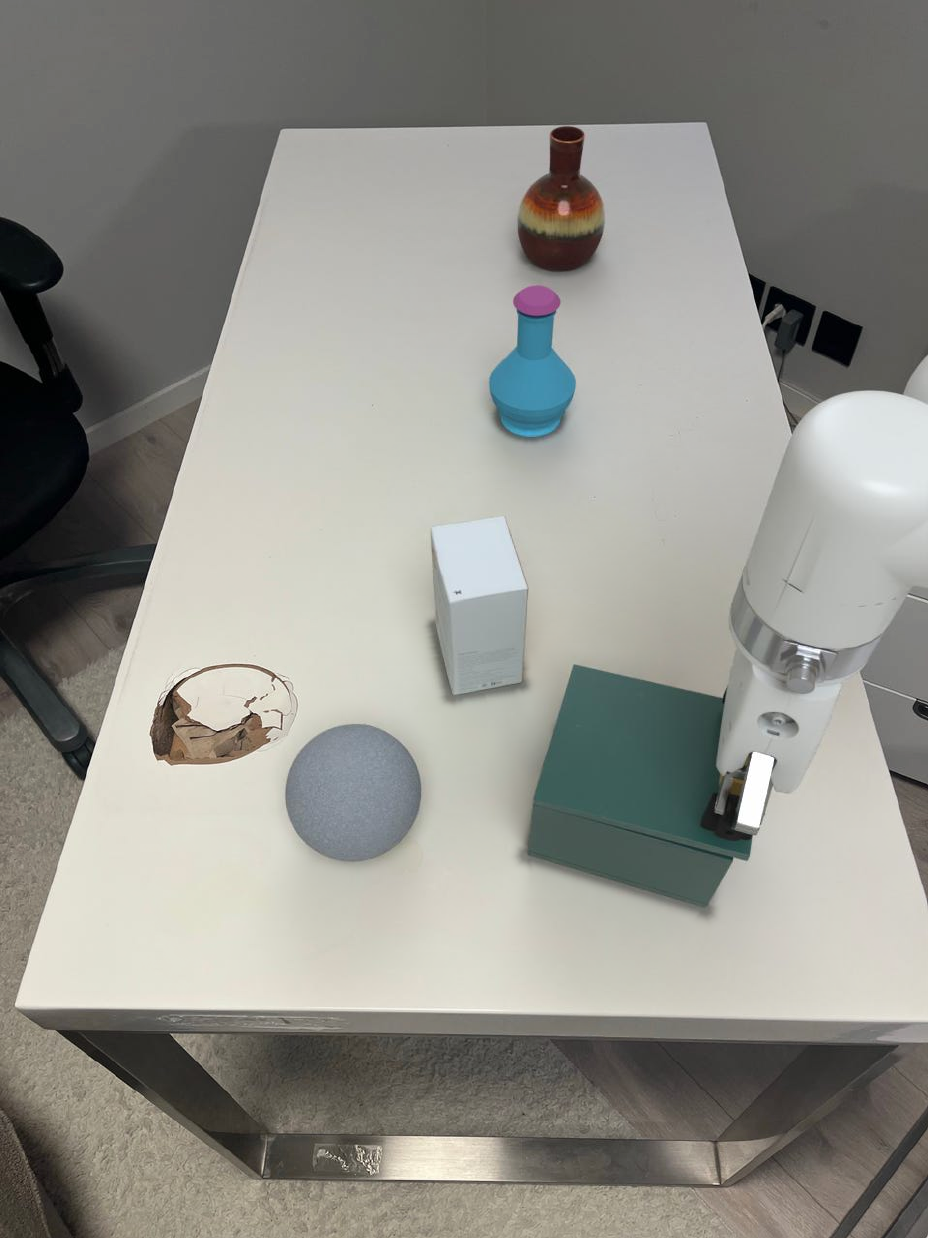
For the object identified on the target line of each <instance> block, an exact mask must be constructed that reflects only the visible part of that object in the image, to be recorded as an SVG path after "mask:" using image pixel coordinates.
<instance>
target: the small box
mask: <svg viewBox="0 0 928 1238" xmlns="http://www.w3.org/2000/svg"><path fill="white" fill-rule="evenodd" d="M430 548H431V562H432V563H431V564H432V583H433V598H434V617H435V618H434V619H435V627H436V633H437V637H438V642H439V646H440V650H441V654H442V658H443V662H444V663H443V664H444V667H445V670H446V674H447V675H446V676H447V678H448V683H449V687H450V690H451V693H452V695H453V696H457V695H461V694H462V695H463V694H468V693H474V692H478V691H484V690H485V691H486V690H489V689H494V688H500V687H504V686H511V685H515V684H516V685H517V684H521V683H522V682H523V677H524V663H525V661H524V660H525V659H524V658H525V645H526V630H527V629H526V628H527V615H528V614H527V613H528V612H527V611H528V600H529V599H528V597H529V586H528V582H527V579H526V576H525V572H524V570H523V567H522V564H521V561H520V558H519V555H518V551H517V548H516V546H515V542H514V538H513V536H512V533H511V530H510V527H509V523H508V520H507V517H506V516H505V515H501V516H495V517H488V518H481V519H475V520H470V521H463V522H456V523H449V524H443V525H437V526H436V525H435V526H431V527H430Z"/></svg>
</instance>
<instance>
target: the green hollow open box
mask: <svg viewBox="0 0 928 1238" xmlns="http://www.w3.org/2000/svg"><path fill="white" fill-rule="evenodd" d="M531 807H532V808H531V818H530V829H529V836H528V837H529V838H528V846H527V855H528V856H531V857H534V858H537V859H540V860H544V861H547V862H551V863H554V864H558V865H561V866H564V867H566V868H571V869H574V870H578V871H581V872H583V873H584V872H585V873H588V874H591V875H595V876H598V877H601V878H604V879H608V880H612V881H614V882H618V883H621V884H624V885H627V886H632V887H635V888H638V889H641V890H645V891H648V892H652V893H655V894H658V895H661V896H665V897H667V898H671V899H674V900H678V901H681V902H685V903H687V904H691V905H694V906H699V907H702V908H705V909H707V907H708V906H709V904H710V902H711V901H712V899H713V898H714V896H715V894H716V892H717V890H718V888H719V887H720V885H721V883H722V881H723V879H724V878H725V876H726V874H727V872H728V871H729V869H730V868H731V866H732V864H733V862H734V857H730V856H726V855H722V854H719V853H715V852H711V851H707V850H704V849H700V848H696V847H692V846H689V845H685V844H681V843H677V842H674V841H670V840H666V839H662V838H659V837H655V836H651V835H647V834H644V833H640V832H636V831H632V830H629V829H625V828H621V827H617V826H614V825H610V824H606V823H602V822H599V821H595V820H591V819H587V818H584V817H580V816H576V815H572V814H569V813H565V812H561V811H557V810H554V809H550V808H546V807H543V806H539V805H535V804H533V803H532V806H531Z"/></svg>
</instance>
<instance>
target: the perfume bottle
mask: <svg viewBox="0 0 928 1238" xmlns="http://www.w3.org/2000/svg"><path fill="white" fill-rule="evenodd" d="M512 303H513V307H515V310H516V313H517V334H516V335H517V338H516V346H515V348H513V349H512V351H510V353H509V354H508V355H507V356H505V357H504V358H503V359H502V360H501V361H500V362H499V363H498V364H497V365H496V366H495V367H494V369H493V370H492V371H491V372H490V375H489V379H488V387H489V392H490V393H489V394H490V396H491V399H492V402H493V404H494V405H495V407H496V412H497V413H498V414H499V417H500V418H499V419H500V422H501V424H502V426H504V428H505V429H506V430H507V431H508V432H510V433H512V434H514V435H517V436H520V437H527V438H537V437H542V436H545V435H548V434H550V433H551V432H553V431H555V430H556V429H557V428H558V426H559V425H560V422H561V419H562V417H563V416H564V414H565V412H566V410H567V409H568V408H569V406H570V405H571V403H572V401H573V398H574V395H575V391H576V387H577V380H576V377H575V374H574V373H573V371H572V370H571V368H570V367H569V366H568V365H567V364H566V362H565V361H564V360H563V359H562V358H561V357H560V356H559V354H558V353H557V352H556V351H555V350H554V348H553V334H554V322H555V321H554V320H555V315H556V314H557V311H558V309H559V308H560V306H561V298H560V296H559V295H558V294H557V293H556V292H555V291H554V290H552V289H551V288H549V287H547V286H544V285H530V286H529V285H528V286H527V287H524V288H523V289H521V290H520V291H519V292H517V293H516V294H515V295H514V296H513V299H512Z"/></svg>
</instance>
